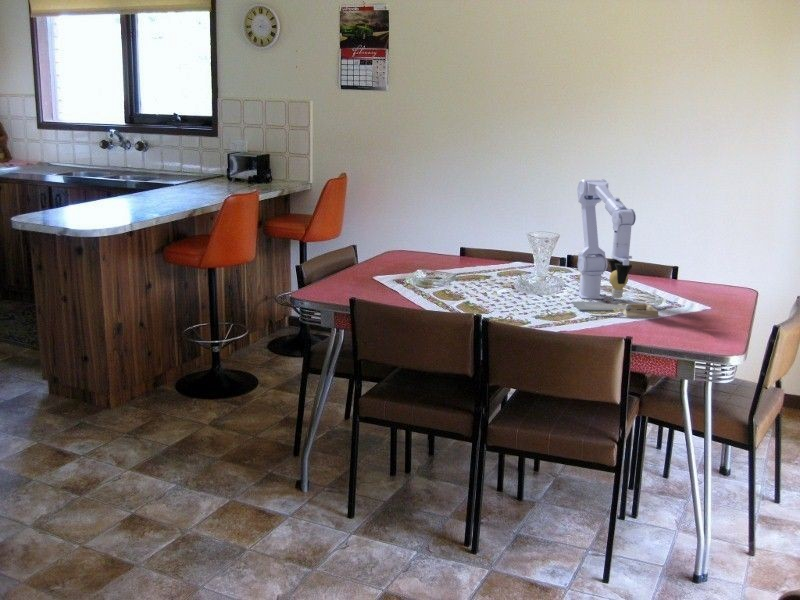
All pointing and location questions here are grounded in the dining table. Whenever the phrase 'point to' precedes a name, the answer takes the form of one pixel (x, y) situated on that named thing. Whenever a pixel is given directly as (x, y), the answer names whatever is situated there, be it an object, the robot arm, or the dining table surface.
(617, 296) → the light bulb
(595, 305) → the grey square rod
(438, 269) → the dining table surface
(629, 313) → the square wooden frame
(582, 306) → the gray square panel
